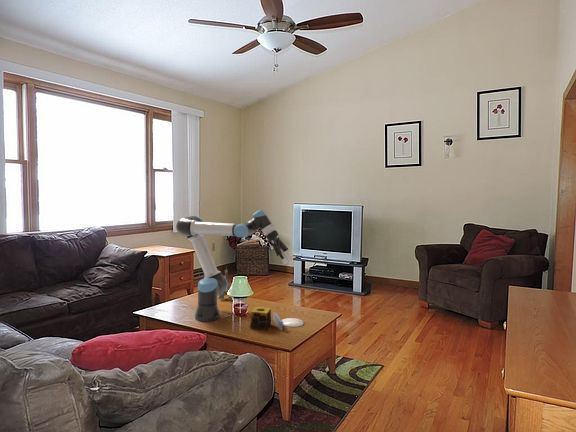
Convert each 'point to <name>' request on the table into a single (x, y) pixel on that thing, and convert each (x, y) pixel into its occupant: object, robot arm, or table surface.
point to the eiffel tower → (227, 288)
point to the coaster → (292, 322)
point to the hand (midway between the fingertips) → (288, 261)
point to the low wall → (278, 321)
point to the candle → (260, 318)
